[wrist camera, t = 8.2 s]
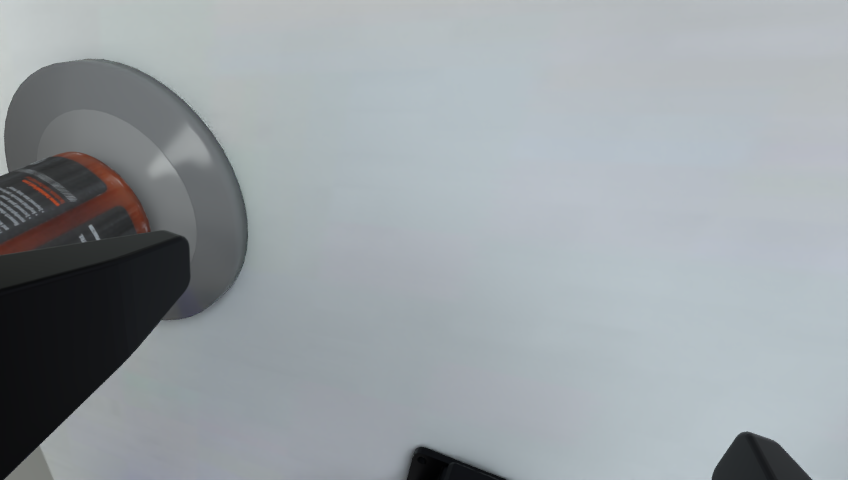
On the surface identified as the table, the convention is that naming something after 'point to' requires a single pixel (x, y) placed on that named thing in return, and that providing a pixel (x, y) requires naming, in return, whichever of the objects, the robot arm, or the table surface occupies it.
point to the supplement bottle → (66, 204)
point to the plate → (140, 159)
